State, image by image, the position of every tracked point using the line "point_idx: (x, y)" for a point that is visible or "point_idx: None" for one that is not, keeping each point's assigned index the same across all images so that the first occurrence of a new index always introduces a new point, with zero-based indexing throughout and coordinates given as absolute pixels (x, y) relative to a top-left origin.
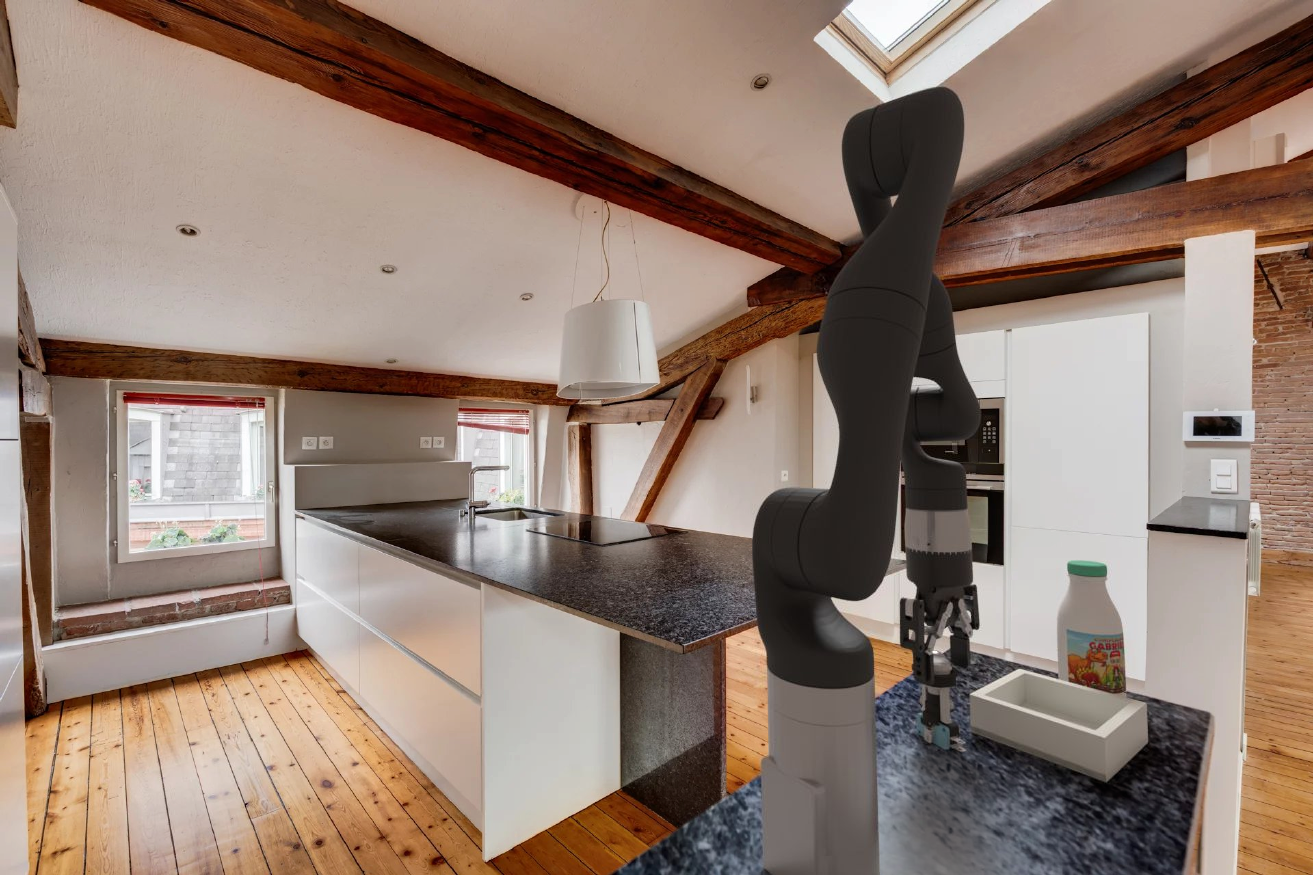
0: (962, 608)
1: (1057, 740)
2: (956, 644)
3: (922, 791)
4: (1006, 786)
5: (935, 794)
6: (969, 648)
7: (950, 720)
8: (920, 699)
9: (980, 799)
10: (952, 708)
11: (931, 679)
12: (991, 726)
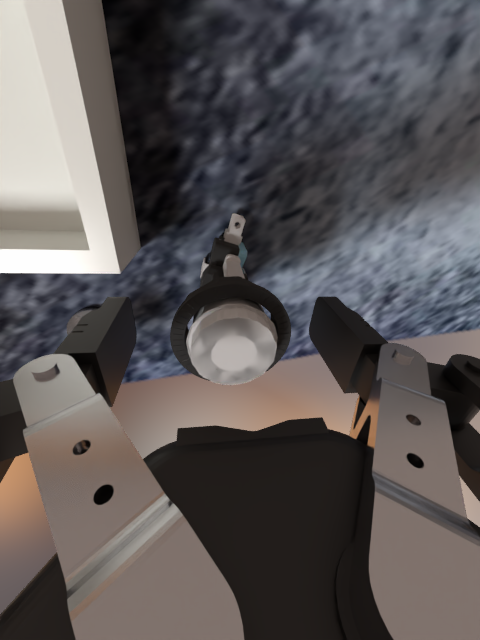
0: (152, 553)
1: (84, 15)
2: (115, 366)
3: (388, 205)
4: (288, 104)
5: (386, 186)
6: (89, 327)
7: (230, 256)
8: None
9: (362, 122)
10: (90, 308)
11: (340, 301)
12: (128, 210)
